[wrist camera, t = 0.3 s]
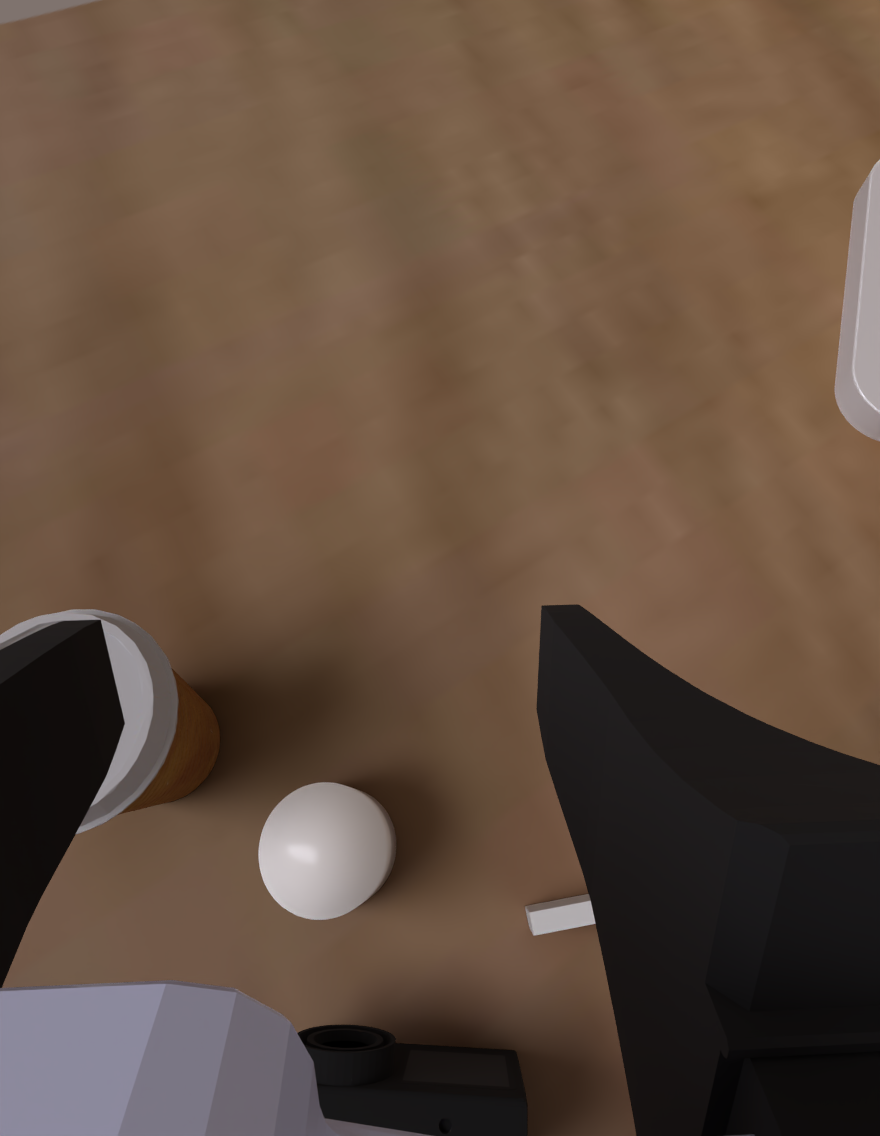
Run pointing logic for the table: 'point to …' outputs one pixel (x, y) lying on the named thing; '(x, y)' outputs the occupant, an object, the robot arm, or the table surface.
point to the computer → (862, 315)
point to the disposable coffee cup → (144, 720)
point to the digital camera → (416, 1084)
